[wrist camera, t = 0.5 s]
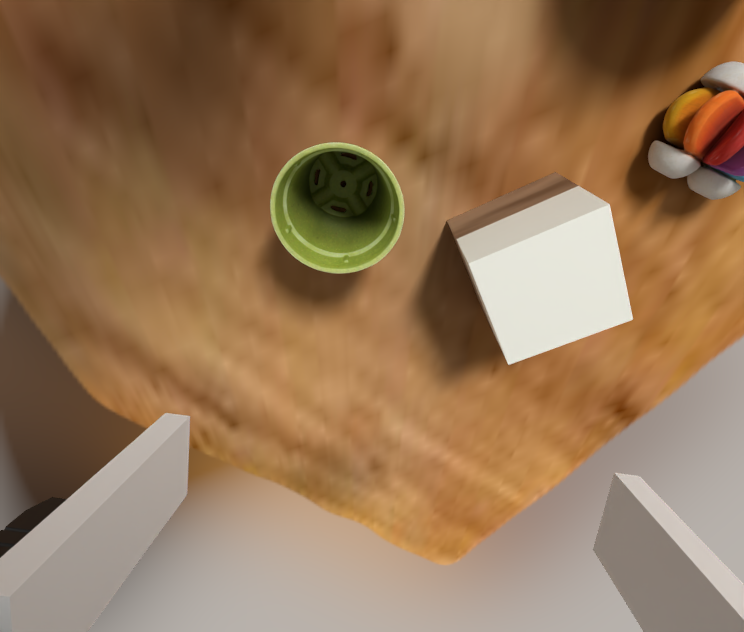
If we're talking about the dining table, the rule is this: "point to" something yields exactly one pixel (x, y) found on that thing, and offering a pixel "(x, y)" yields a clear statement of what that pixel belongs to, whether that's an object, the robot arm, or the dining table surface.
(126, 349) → the dining table surface
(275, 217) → the plant pot
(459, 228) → the walnut base block
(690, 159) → the rainbow petal cluster
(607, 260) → the pale top block
